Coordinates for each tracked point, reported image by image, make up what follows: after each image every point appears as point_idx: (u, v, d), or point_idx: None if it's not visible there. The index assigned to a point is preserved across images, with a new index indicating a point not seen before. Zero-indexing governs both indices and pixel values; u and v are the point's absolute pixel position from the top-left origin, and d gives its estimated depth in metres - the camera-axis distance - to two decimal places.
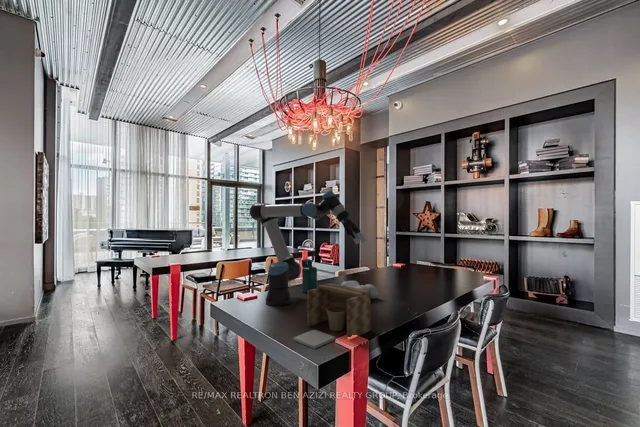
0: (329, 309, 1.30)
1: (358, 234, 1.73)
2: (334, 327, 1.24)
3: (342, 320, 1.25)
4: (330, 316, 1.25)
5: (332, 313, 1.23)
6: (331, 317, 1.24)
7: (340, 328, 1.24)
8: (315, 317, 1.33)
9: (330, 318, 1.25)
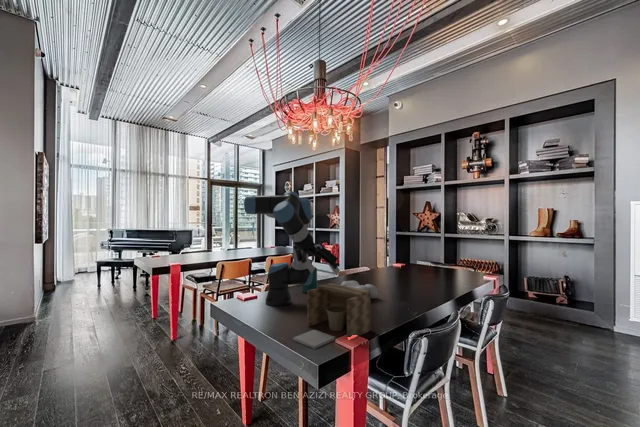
0: (329, 309, 1.30)
1: None
2: (334, 327, 1.24)
3: (342, 320, 1.25)
4: (330, 316, 1.25)
5: (332, 313, 1.23)
6: (331, 317, 1.24)
7: (340, 328, 1.24)
8: (315, 317, 1.33)
9: (330, 318, 1.25)
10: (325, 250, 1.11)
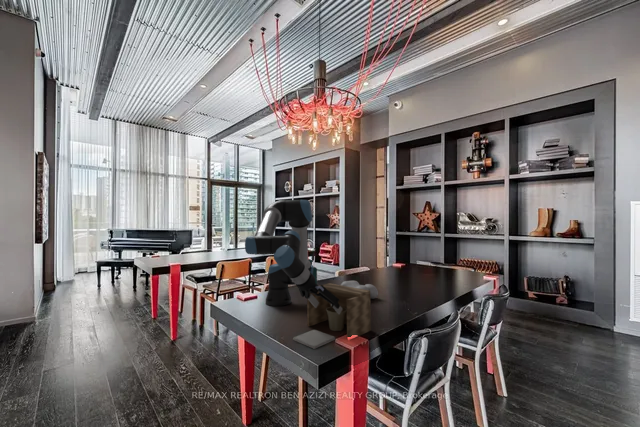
0: (329, 309, 1.30)
1: None
2: (334, 327, 1.24)
3: (342, 320, 1.25)
4: (330, 316, 1.25)
5: (332, 313, 1.23)
6: (331, 317, 1.24)
7: (340, 328, 1.24)
8: (315, 317, 1.33)
9: (330, 318, 1.25)
10: (327, 292, 1.11)
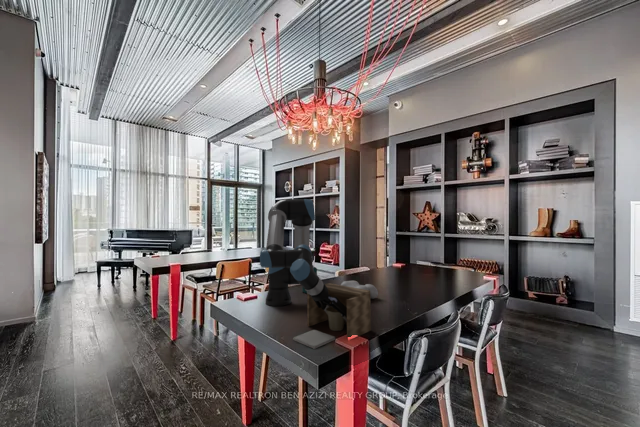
0: (329, 309, 1.30)
1: None
2: (334, 327, 1.24)
3: (342, 320, 1.25)
4: (330, 316, 1.25)
5: (332, 313, 1.23)
6: (331, 316, 1.24)
7: (340, 328, 1.24)
8: (315, 317, 1.33)
9: (330, 318, 1.25)
10: (339, 303, 1.18)
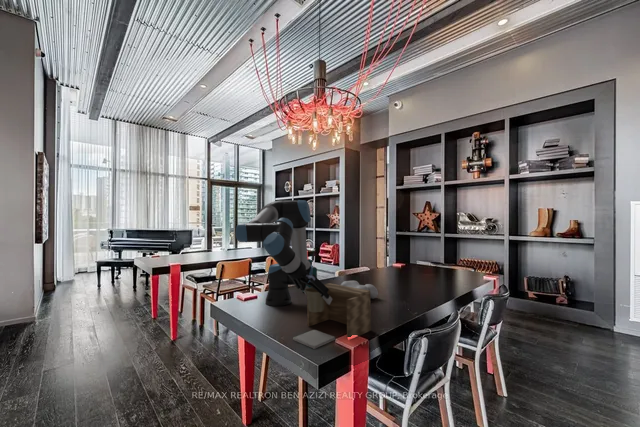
0: (309, 290, 1.21)
1: None
2: (313, 308, 1.15)
3: (322, 301, 1.16)
4: (309, 296, 1.16)
5: (311, 293, 1.15)
6: (310, 297, 1.15)
7: (320, 309, 1.15)
8: (315, 317, 1.33)
9: (309, 299, 1.16)
10: (318, 282, 1.10)
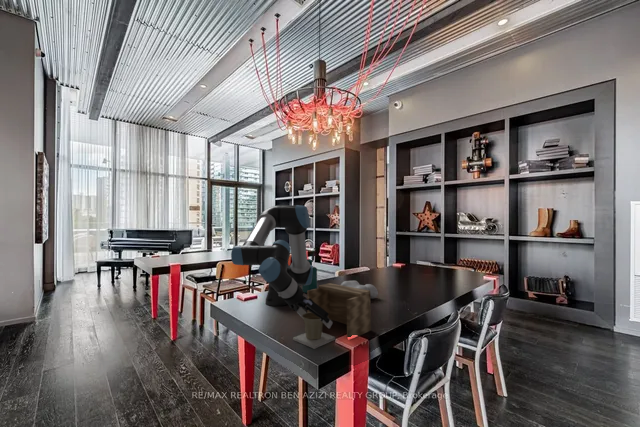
0: (306, 315, 1.18)
1: None
2: (310, 336, 1.12)
3: (319, 328, 1.13)
4: (306, 323, 1.13)
5: (308, 320, 1.11)
6: (308, 324, 1.12)
7: (317, 336, 1.12)
8: None
9: (306, 325, 1.13)
10: (315, 306, 1.05)
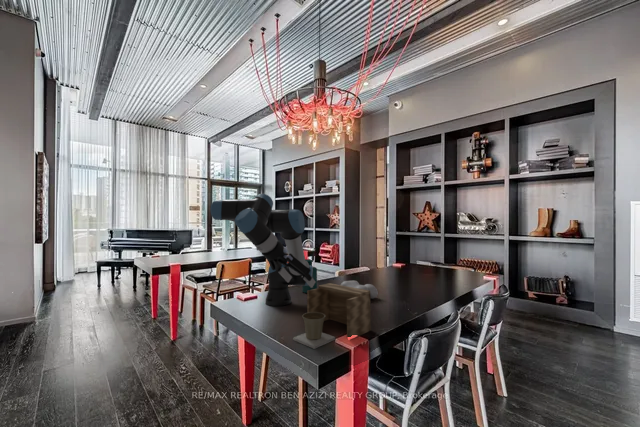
0: (306, 315, 1.18)
1: None
2: (310, 336, 1.12)
3: (319, 328, 1.13)
4: (306, 323, 1.13)
5: (308, 320, 1.11)
6: (308, 324, 1.12)
7: (317, 336, 1.12)
8: None
9: (306, 325, 1.13)
10: (296, 261, 1.00)
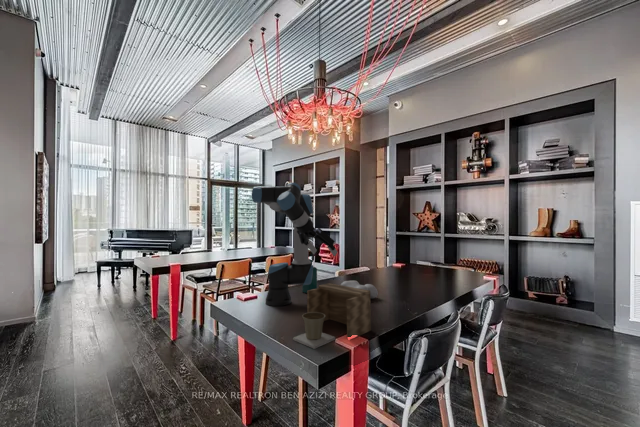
0: (306, 315, 1.18)
1: None
2: (310, 336, 1.12)
3: (319, 328, 1.13)
4: (306, 323, 1.13)
5: (308, 320, 1.11)
6: (308, 324, 1.12)
7: (317, 336, 1.12)
8: None
9: (306, 325, 1.13)
10: (323, 234, 1.26)
